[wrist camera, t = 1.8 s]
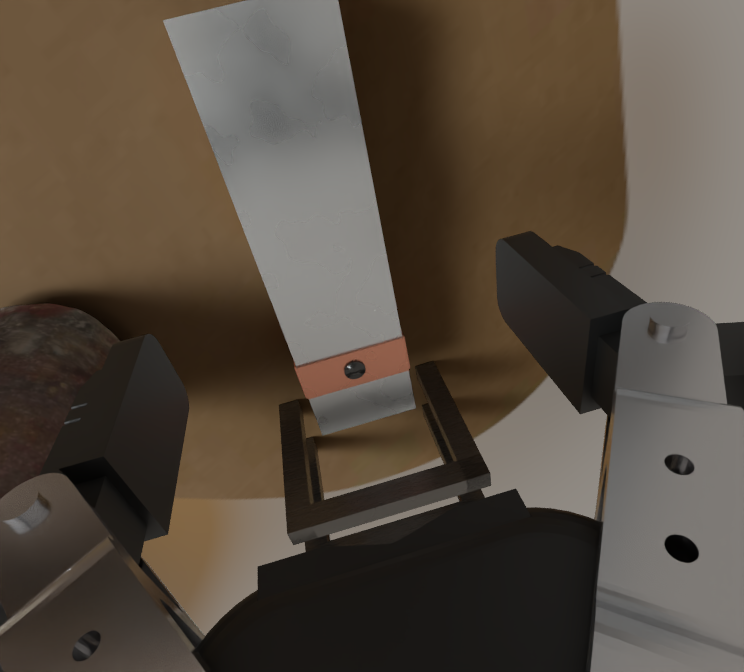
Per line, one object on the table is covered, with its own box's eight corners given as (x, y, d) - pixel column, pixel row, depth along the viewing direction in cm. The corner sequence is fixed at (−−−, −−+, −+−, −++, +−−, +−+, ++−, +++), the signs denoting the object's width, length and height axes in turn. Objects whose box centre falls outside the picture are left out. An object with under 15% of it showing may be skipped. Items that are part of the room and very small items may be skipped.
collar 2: (295, 442, 31) (307, 570, 24) (439, 400, 31) (492, 513, 24) (299, 451, 31) (312, 579, 24) (440, 410, 32) (492, 524, 25)
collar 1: (279, 405, 29) (287, 534, 22) (433, 361, 29) (490, 473, 22) (283, 416, 29) (293, 545, 22) (435, 372, 30) (490, 485, 23)
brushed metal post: (181, 17, 17) (158, 21, 13) (318, -16, 17) (338, -22, 13) (311, 374, 28) (321, 438, 24) (394, 350, 28) (418, 410, 24)
